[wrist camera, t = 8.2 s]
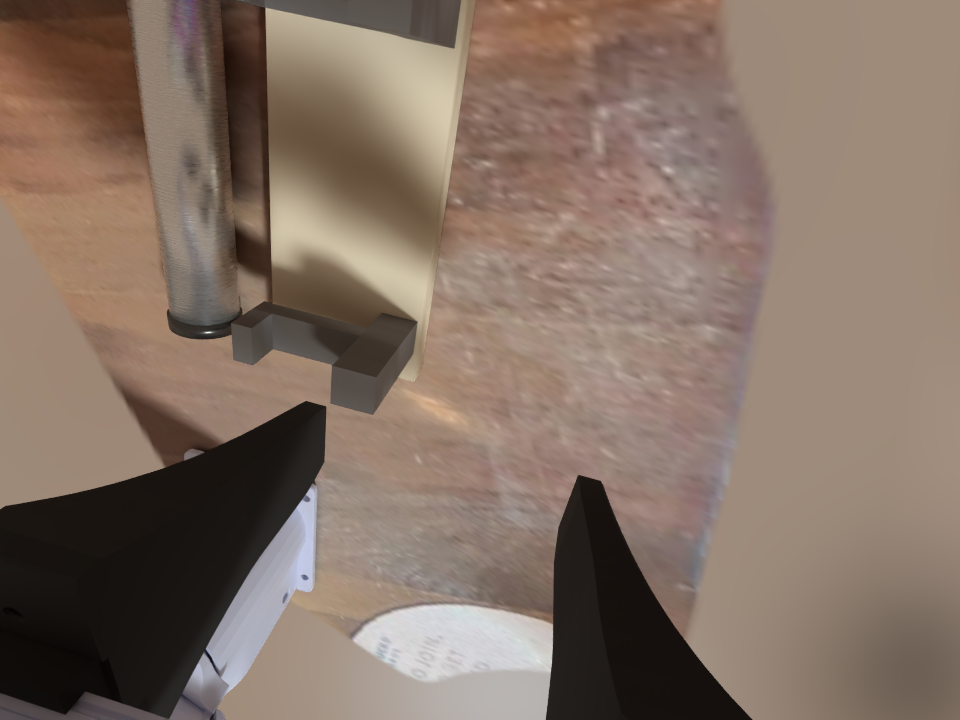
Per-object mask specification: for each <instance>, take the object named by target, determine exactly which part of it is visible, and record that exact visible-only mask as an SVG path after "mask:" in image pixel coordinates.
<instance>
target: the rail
mask: <svg viewBox="0 0 960 720" xmlns="http://www.w3.org/2000/svg"><path fill="white" fill-rule="evenodd" d="M126 4H127V11H128V18H129V25H130V33H131V40H132V47H133V54H134V61H135V68H136V76H137V83H138V90H139V97H140V104H141V112H142V119H143V126H144V133H145V140H146V147H147V155H148V162H149V169H150V176H151V183H152V191H153V198H154V205H155V212H156V219H157V226H158V234H159V241H160V248H161V255H162V262H163V270H164V277H165V284H166V291H167V298H168V305H169V309H168V311H167V318H168V325H169V328H170V330H171V331H172V332H173V333H175V334H177V335H179V336H182V337H186V338H191V339H216V338H221V337H225V336H228V335H231V334H232V331H231V323H232V322H233V321H235V320H236V319H238V318H239V317H241V316H242V308H241V307H240V305H239V289H238V273H237V257H236V241H235V225H234V209H233V193H232V177H231V161H230V145H229V130H228V114H227V98H226V82H225V66H224V50H223V34H222V18H221V2H220V0H126Z"/></svg>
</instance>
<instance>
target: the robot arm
mask: <svg viewBox="0 0 960 720" xmlns="http://www.w3.org/2000/svg"><path fill="white" fill-rule="evenodd" d="M325 430H326V406H322V405H319V404H315V403H311V402H308V401H305V402H303V403H301V404H299V405H297V406H296V407H294V408H292V409H290V410H288V411H286V412H284V413H283V414H281V415H279V416H277V417H275V418H273V419H272V420H270V421H268V422H266V423H264V424H262V425H260V426H258V427H256V428H254V429H253V430H251V431H249V432H247V433H245V434H243V435H241V436H239V437H237V438H235V439H232V440H230V441H228V442H226V443H224V444H222V445H220V446H217V447H215V448H213V449H211V450H209V451H207V452H203V451H200V450H196V449H189V450H188V451H187V452H186V453H185V454H184V461H182V462H179V463H177V464H174V465H171V466H169V467H166V468H163V469H160V470H157V471H154V472H151V473H147V474H144V475H141V476H138V477H135V478H131V479H128V480H125V481H121V482H118V483H115V484H110V485H107V486H103V487H99V488H95V489H91V490H87V491H82V492H78V493H74V494H69V495H64V496H59V497H54V498H48V499H43V500H37V501H32V502H27V503H21V504H16V505H9V506H5V507H3V508H2V509H0V720H225V715H224V714H223V713H222V712H221V711H220V710H218V709H217V707H218V705H219V704H220V702H221V701H222V699H223V697H224V696H225V694H226V693H227V692H229V691H230V690H231V689H232V688H233V687H235V685H237V684H238V682H240V680H241V679H242V678H243V677H244V676H245V674H246V673H247V671H248V670H249V668H250V667H251V665H252V663H253V661H254V660H255V658H256V656H257V655H258V653H259V651H260V650H261V648H262V646H263V644H264V643H265V641H266V639H267V638H268V636H269V634H270V633H271V631H272V629H273V627H274V625H275V624H276V622H277V621H278V619H279V617H280V615H281V614H282V612H283V610H284V609H285V607H286V605H287V604H288V602H289V600H290V598H291V597H292V595H293V593H294V592H295V590H296V589H297V590H301V591H304V592H310V591H312V589H313V587H314V579H315V546H316V514H317V488H316V486H315V485H314V484H313V482H314V480H315V478H316V476H317V474H318V473H319V471H320V469H321V467H322V465H323V463H324V456H325ZM546 720H752V719H751V718H750V717H749V716H748V715H747V714H746V712H745V711H744V710H743V709H742V708H741V707H740V706H739V705H738V704H737V703H736V702H735V701H734V700H733V699H732V698H731V697H730V695H729V694H728V693H727V692H726V691H725V690H724V689H723V687H722V686H721V685H720V684H719V683H718V681H717V680H716V679H715V678H714V677H713V676H712V674H711V673H710V672H709V671H708V670H707V669H706V667H705V666H704V665H703V663H702V662H701V661H700V660H699V659H698V657H697V656H696V655H695V653H694V652H693V651H692V649H691V648H690V647H689V645H688V644H687V642H686V641H685V640H684V638H683V637H682V636H681V634H680V633H679V632H678V630H677V629H676V628H675V626H674V625H673V623H672V622H671V620H670V619H669V617H668V616H667V615H666V613H665V611H664V610H663V608H662V607H661V605H660V603H659V602H658V600H657V599H656V597H655V595H654V594H653V592H652V590H651V589H650V587H649V585H648V583H647V582H646V580H645V578H644V576H643V574H642V572H641V570H640V569H639V567H638V565H637V563H636V561H635V559H634V557H633V555H632V553H631V551H630V549H629V547H628V545H627V542H626V540H625V538H624V536H623V534H622V532H621V529H620V527H619V525H618V522H617V520H616V518H615V515H614V513H613V510H612V508H611V505H610V503H609V500H608V497H607V495H606V492H605V489H604V486H603V484H602V482H601V481H599V480H595V479H591V478H588V477H584V476H580V475H578V477H577V480H576V482H575V485H574V488H573V490H572V493H571V496H570V498H569V501H568V504H567V506H566V509H565V512H564V514H563V517H562V520H561V522H560V525H559V528H558V536H557V543H556V551H555V559H554V602H553V655H552V668H551V679H550V688H549V698H548V706H547V714H546Z"/></svg>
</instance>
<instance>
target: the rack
mask: <svg viewBox="0 0 960 720" xmlns="http://www.w3.org/2000/svg"><path fill="white" fill-rule="evenodd" d="M236 1H239V2H243V3H247V4H251V5H255V6H260V7H264V8H265V9H266V51H267V93H268V135H269V177H270V219H271V261H272V303H269V302H265V301H264V302H263V303H261V304H260V305H258V306H256V307H255V308H253V309H252V310H250V311H249V312H247V313H246V314H244V315H242V316H241V317H239V318H238V319H236V320H235V321H233V322H232V323H231V331H232V345H233V359H234V360H235V361H239V362H243V363H246V364H250V365H254V364H255V363H256V362H258V361H259V360H260V359H261V358H263V357H264V356H265V355H266V354H268V353H269V352H270V351H271V350H272V349H275V350H278V351H282V352H286V353H290V354H294V355H297V356H301V357H305V358H309V359H312V360H316V361H320V362H324V363H328V364H331V365H332V379H331V402H330V403H331V404H334V405H338V406H342V407H345V408H349V409H353V410H356V411H360V412H364V413H368V414H371V415H373V414H374V412H375V411H376V409H377V408H378V406H379V405H380V403H381V402H382V400H383V399H384V397H385V396H386V394H387V393H388V391H389V390H390V388H391V387H392V385H393V384H394V382H395V381H396V379H397V378H402V379H405V380H409V381H413V382H414V381H415V379H416V378H417V376H418V374H419V373H420V371H421V369H422V363H423V356H424V349H425V343H426V336H427V329H428V322H429V315H430V309H431V302H432V295H433V288H434V282H435V275H436V268H437V261H438V254H439V248H440V241H441V234H442V227H443V220H444V214H445V207H446V200H447V193H448V186H449V180H450V173H451V166H452V159H453V152H454V146H455V139H456V132H457V125H458V118H459V112H460V105H461V98H462V91H463V84H464V78H465V71H466V64H467V57H468V50H469V44H470V37H471V30H472V23H473V16H474V10H475V3H476V0H236Z"/></svg>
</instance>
